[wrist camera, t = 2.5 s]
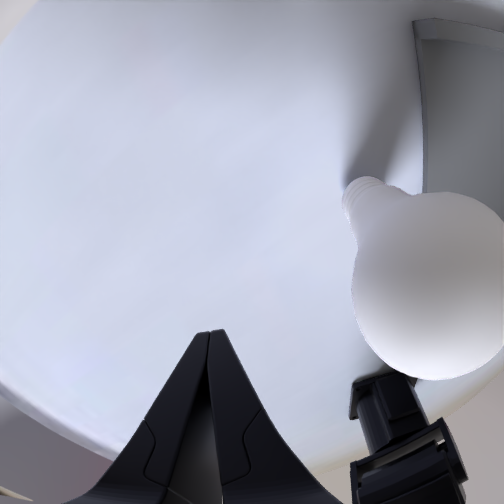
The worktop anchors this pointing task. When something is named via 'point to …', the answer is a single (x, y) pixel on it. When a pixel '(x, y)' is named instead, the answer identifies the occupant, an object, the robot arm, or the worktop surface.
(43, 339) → the worktop surface
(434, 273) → the lightbulb
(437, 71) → the tray
